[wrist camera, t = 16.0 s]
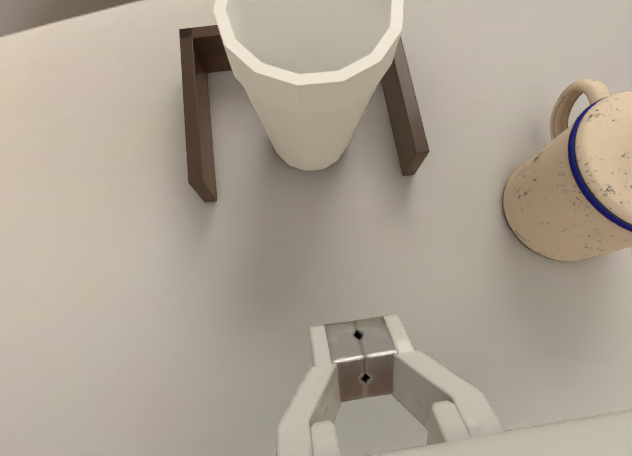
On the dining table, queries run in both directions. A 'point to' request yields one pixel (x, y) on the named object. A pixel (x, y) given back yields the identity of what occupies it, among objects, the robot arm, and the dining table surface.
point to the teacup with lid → (577, 180)
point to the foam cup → (309, 67)
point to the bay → (209, 56)
